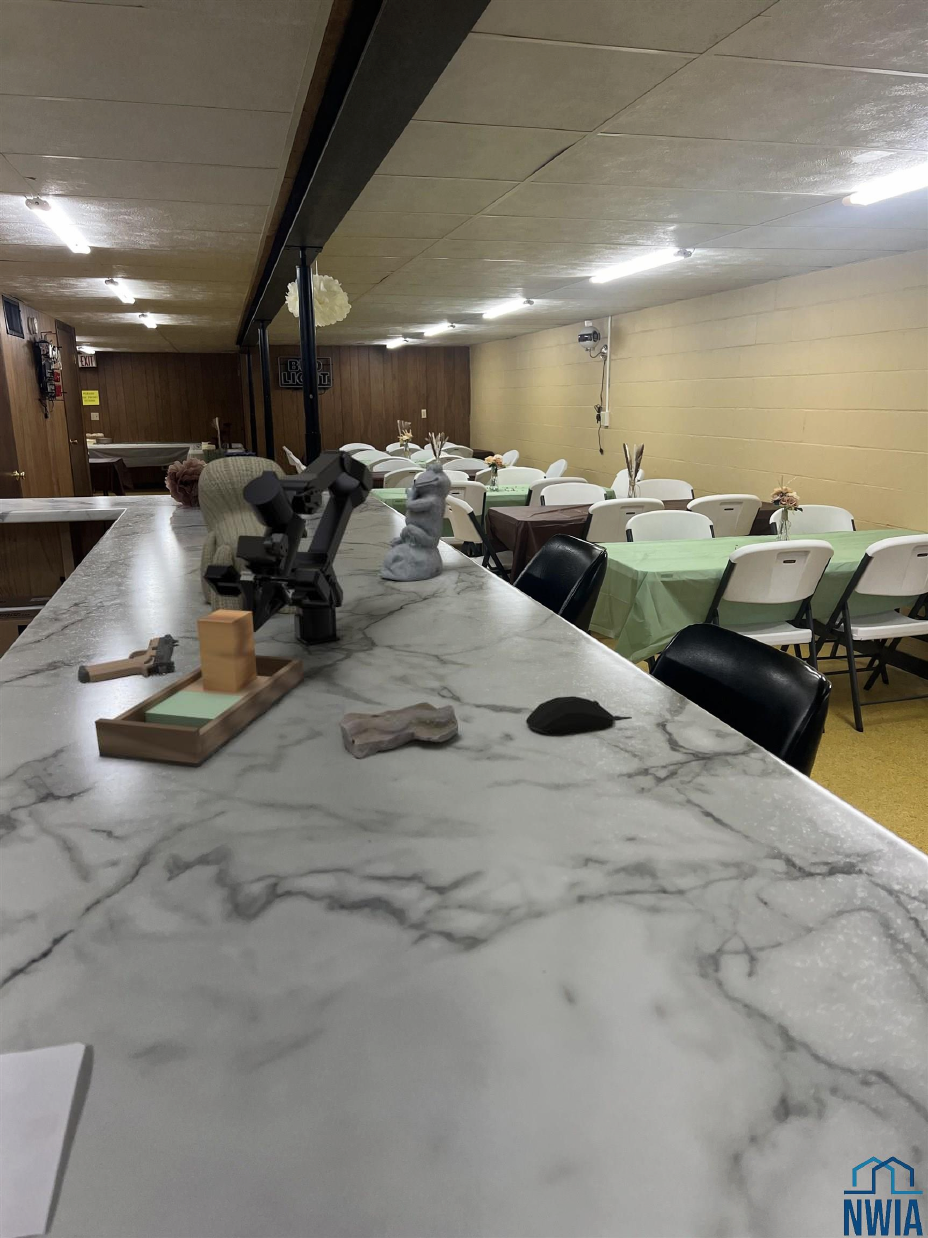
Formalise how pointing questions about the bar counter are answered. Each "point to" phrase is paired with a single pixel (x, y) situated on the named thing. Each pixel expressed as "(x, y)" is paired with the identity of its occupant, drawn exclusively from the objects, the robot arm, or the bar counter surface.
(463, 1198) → the bar counter surface
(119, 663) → the handgun
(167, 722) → the pad
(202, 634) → the block
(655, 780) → the bar counter surface
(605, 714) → the gaming mouse
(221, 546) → the toy
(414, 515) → the sculpture
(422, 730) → the stone
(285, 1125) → the bar counter surface
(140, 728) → the tray box
